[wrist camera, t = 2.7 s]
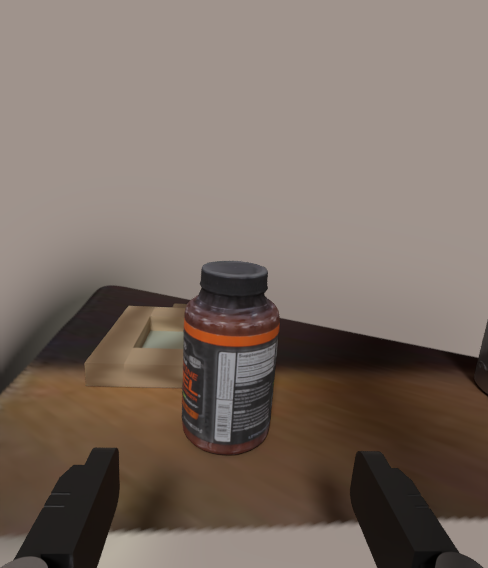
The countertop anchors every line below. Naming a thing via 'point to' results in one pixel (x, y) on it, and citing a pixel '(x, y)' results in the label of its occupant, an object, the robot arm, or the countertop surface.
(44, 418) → the countertop surface
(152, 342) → the holder
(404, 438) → the countertop surface
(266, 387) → the supplement bottle
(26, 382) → the countertop surface
